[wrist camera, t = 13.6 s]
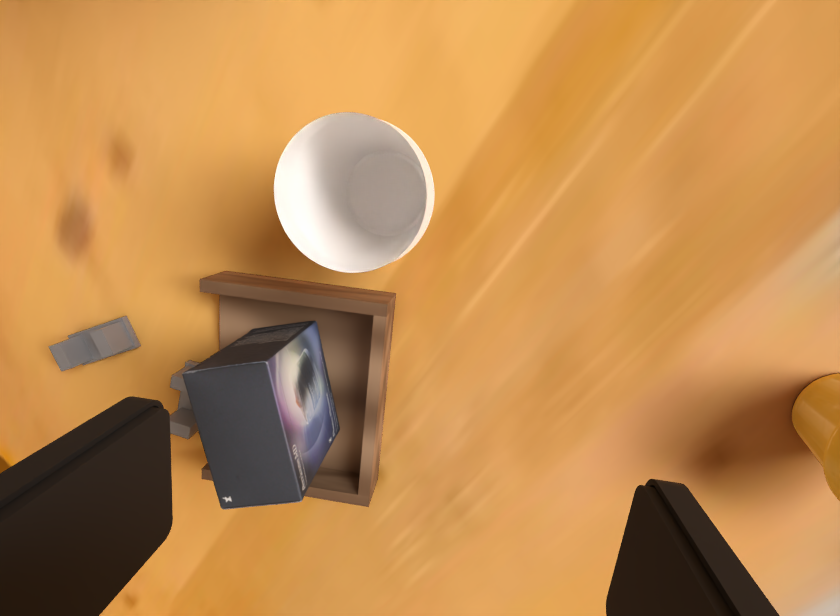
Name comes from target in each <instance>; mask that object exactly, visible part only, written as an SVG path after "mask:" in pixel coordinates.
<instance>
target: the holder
mask: <svg viewBox="0 0 840 616" xmlns="http://www.w3.org/2000/svg"><path fill="white" fill-rule="evenodd" d="M200 292H206V293H213V294H220V350H222V349H223V348H225V347H226V346H228V345H229V344H231V343H233V342H234V341H236V340H237V339H239V338H241V337H242V336H244V335H245V334H247V333H248V332H249V331H250V330H252V329H254V328H262V327H270V326H276V325H283V324H291V323H298V322H306V321H316V322H317V325H318V330H319V334H320V339H321V344H322V348H323V353H324V357H325V362H326V367H327V371H328V376H329V380H330V385H331V390H332V394H333V399H334V403H335V408H336V413H337V417H338V422H339V426H340V431H339V432H338V434H337V436H336V438H335V439H334V441H333V443H332V445H331V447H330V449H329V450H328V452H327V454H326V456H325V458H324V460H323V461H322V463H321V465H320V467H319V469H318V471H317V473H316V475H315V476H314V478H313V480H312V482H311V484H310V486H309V487H308V489H307V491H306V493H305V495H304V496H307V497H313V498H319V499H324V500H330V501H336V502H342V503H348V504H354V505H360V506H366V507H369V504H370V501H371V498H372V495H373V492H374V489H375V486H376V483H377V480H378V471H379V461H380V451H381V440H382V430H383V420H384V410H385V400H386V390H387V380H388V369H389V359H390V349H391V339H392V329H393V319H394V309H395V298H396V293H390V292H382V291H374V290H367V289H359V288H352V287H344V286H336V285H329V284H321V283H314V282H306V281H299V280H291V279H283V278H276V277H268V276H261V275H253V274H245V273H238V272H230V271H224V272H221V273H218V274H215V275H211V276H208V277H205V278H202V279H200ZM202 479H206V480H212V481H213V478H212V475H211V471H210V468H209V465H208V463H207V464H206V465H205V466H204V467H203V468H202Z"/></svg>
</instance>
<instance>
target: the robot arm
mask: <svg viewBox="0 0 840 616" xmlns="http://www.w3.org/2000/svg"><path fill="white" fill-rule="evenodd" d="M172 520H173V516H172V480H171V443H170V415H169V412H168V410H166V409H164V408H163V405H162V403H161V402H160V401H158V400H151V399H145V398H139V397H127V398H125V399H123V400H121V401H120V402H118V403H117V404H115V405H113V406H112V407H110V408H108V409H107V410H105V411H103V412H102V413H100V414H98V415H97V416H95V417H93V418H92V419H90V420H88V421H87V422H85V423H83V424H82V425H80V426H78V427H77V428H75V429H73V430H72V431H70V432H68V433H67V434H65V435H63V436H62V437H60V438H58V439H57V440H55V441H53V442H52V443H50V444H48V445H47V446H45V447H43V448H42V449H40V450H38V451H37V452H35V453H33V454H32V455H30V456H28V457H27V458H25V459H23V460H22V461H20V462H18V463H17V464H15V465H13V466H12V467H10V468H8V469H7V470H5V471H3V472H2V473H1V474H0V616H99V615H100V614H101V613H102V611H103V610H104V609H105V608H106V607H107V606H108V605H109V604H110V602H111V601H112V600H113V599H114V598H115V597H116V596H117V594H118V593H119V592H120V591H121V590H122V589H123V588H124V586H125V585H126V584H127V583H128V582H129V581H130V580H131V578H132V577H133V576H134V575H135V574H136V573H137V572H138V570H139V569H140V568H141V567H142V566H143V565H144V564H145V562H146V561H147V560H148V559H149V558H150V557H151V556H152V554H153V553H154V552H155V551H156V550H157V549H158V548H159V546H160V545H161V544H162V543H163V542H164V541H165V539H166V538H167V536H168V534H169V532H170V530H171V526H172ZM606 614H607V616H779V614H778V613H777V612H776V610H775V609H774V607H773V606H772V605H771V603H770V602H769V600H768V599H767V598H766V596H765V595H764V594H763V592H762V591H761V589H760V588H759V587H758V585H757V584H756V582H755V581H754V580H753V578H752V577H751V575H750V574H749V573H748V571H747V570H746V569H745V567H744V566H743V564H742V563H741V562H740V560H739V559H738V557H737V556H736V555H735V553H734V552H733V550H732V549H731V548H730V546H729V545H728V544H727V542H726V541H725V539H724V538H723V537H722V535H721V534H720V532H719V531H718V530H717V528H716V527H715V525H714V524H713V523H712V521H711V520H710V519H709V517H708V516H707V514H706V513H705V512H704V510H703V509H702V507H701V506H700V505H699V503H698V502H697V500H696V499H695V498H694V496H693V495H692V494H691V492H690V491H689V489H688V488H687V487H686V486H685V485H684V484H681V483H674V482H668V481H662V480H656V479H650V480H648V482H647V483H646V485H645V486H643V485H639V486H638V487H637V488H636V491H635V494H634V497H633V501H632V505H631V509H630V513H629V516H628V520H627V524H626V528H625V531H624V535H623V539H622V543H621V546H620V550H619V554H618V558H617V562H616V565H615V569H614V573H613V577H612V580H611V584H610V588H609V592H608V595H607V600H606Z"/></svg>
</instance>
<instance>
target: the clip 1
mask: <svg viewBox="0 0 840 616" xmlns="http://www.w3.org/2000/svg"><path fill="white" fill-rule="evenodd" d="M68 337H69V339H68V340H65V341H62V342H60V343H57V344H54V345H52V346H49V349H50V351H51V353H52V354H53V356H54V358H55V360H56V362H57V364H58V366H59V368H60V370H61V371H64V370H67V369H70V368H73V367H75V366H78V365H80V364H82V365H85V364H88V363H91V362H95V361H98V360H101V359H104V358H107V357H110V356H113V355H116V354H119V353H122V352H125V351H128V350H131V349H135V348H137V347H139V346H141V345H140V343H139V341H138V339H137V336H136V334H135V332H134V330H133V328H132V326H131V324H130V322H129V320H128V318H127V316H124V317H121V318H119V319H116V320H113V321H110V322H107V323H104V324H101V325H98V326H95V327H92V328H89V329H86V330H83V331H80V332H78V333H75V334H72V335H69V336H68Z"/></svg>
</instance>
